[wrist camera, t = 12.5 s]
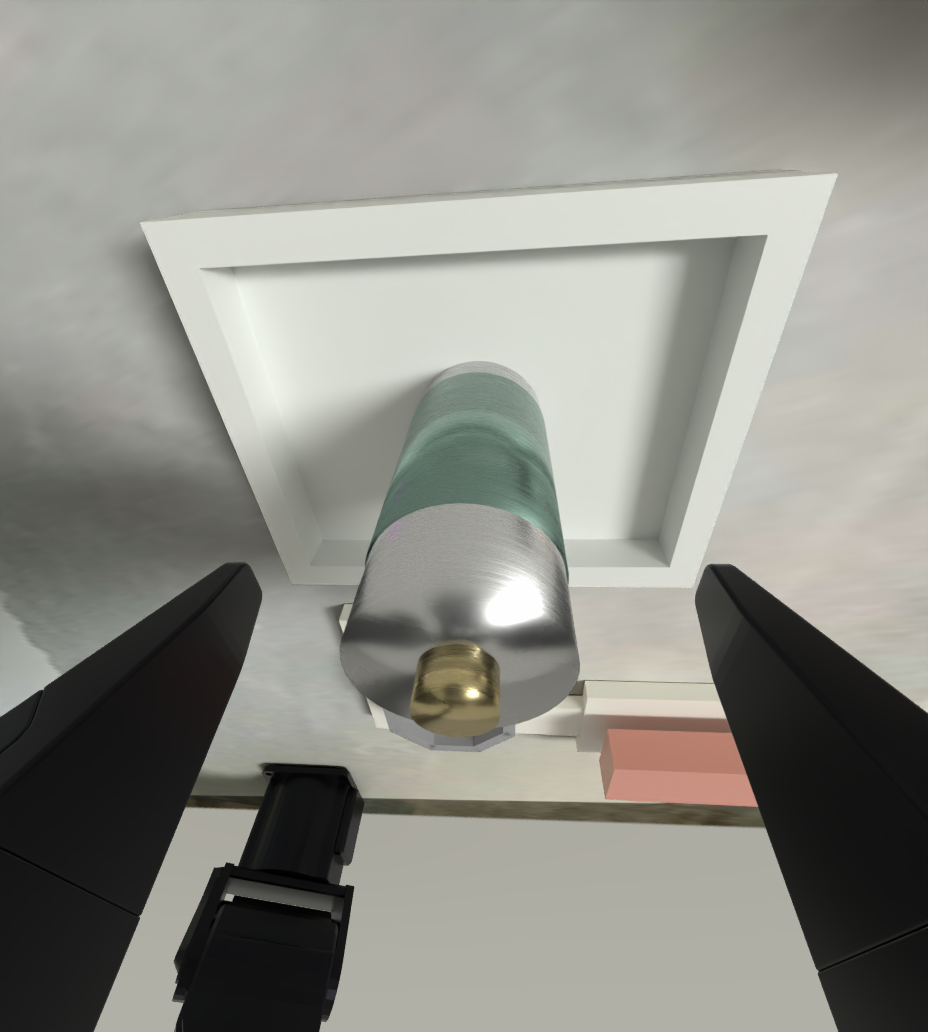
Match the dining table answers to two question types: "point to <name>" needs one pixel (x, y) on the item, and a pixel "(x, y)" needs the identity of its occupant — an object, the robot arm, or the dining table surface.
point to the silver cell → (467, 566)
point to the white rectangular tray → (499, 347)
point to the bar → (674, 768)
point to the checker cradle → (585, 714)
